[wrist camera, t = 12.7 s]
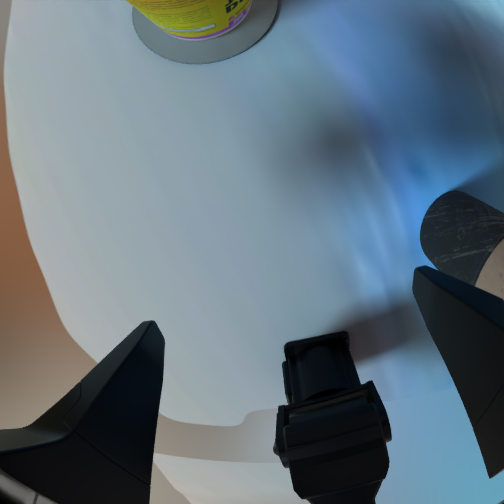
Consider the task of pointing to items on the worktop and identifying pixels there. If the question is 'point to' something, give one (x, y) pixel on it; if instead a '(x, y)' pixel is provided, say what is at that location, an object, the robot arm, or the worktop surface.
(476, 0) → the worktop surface
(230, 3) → the supplement bottle
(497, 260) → the travel mug
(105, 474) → the robot arm
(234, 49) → the slate coaster
